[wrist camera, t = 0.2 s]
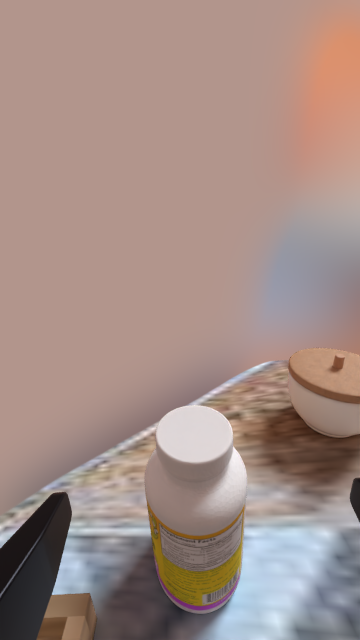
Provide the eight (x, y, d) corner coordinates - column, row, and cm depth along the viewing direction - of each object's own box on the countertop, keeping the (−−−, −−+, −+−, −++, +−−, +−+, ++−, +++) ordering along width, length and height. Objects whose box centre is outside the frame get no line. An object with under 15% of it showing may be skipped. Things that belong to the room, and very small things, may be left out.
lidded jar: (345, 393, 38) (358, 335, 35) (402, 454, 28) (427, 380, 25) (272, 394, 39) (278, 337, 35) (302, 455, 29) (314, 383, 25)
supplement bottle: (173, 503, 24) (164, 388, 20) (245, 527, 22) (254, 404, 18) (139, 596, 18) (116, 460, 14) (234, 640, 16) (244, 497, 12)
